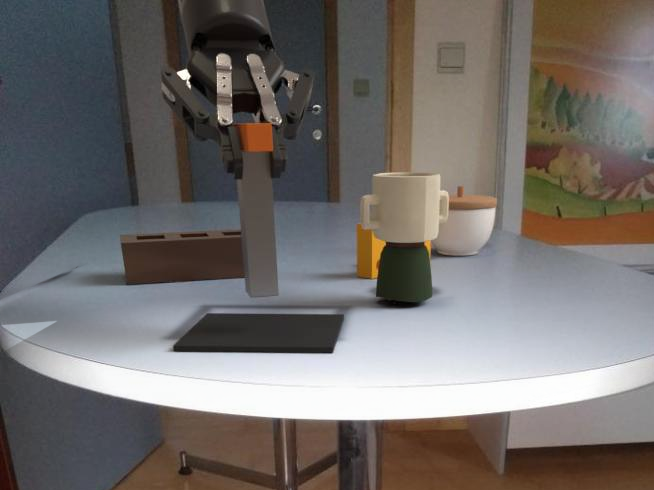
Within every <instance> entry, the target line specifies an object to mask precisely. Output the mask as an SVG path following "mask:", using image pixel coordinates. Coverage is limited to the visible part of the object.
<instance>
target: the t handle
mask: <svg viewBox="0 0 654 490" xmlns="http://www.w3.org/2000/svg"><path fill="white" fill-rule="evenodd" d="M232 126H233V127H236V129H237V134H238V139H239V143H240V148H241V153H242V157H243V178H242V180H236V185H237V198H238V210H239V221H240V222H239V223H240V224H239V225H240V229H241V237H242V250H243V263H244V275H245V277H244V287H245V288H244V289H245V293H246V294H247V295H248V296H249V298H251V299H252V298H265V297H277V296H279V295H280V292H279V291H280V290H279V275H278V273H279V272H278V258H277V242H276V227H275V207H274V189H273V179H272V177H271V160H270V151H273V141H272V124H271V123H255V122H254V123H253V122H249V123H248V122H245V123H244V122H243V123H241V122H240V123H239V122H237V123H235V122H234V123H232Z"/></svg>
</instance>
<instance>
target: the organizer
mask: <svg viewBox="0 0 654 490" xmlns="http://www.w3.org/2000/svg"><path fill="white" fill-rule="evenodd" d="M119 240H120V248H121V254H122V260H123V269H124V274H125V275H124V276H125V280H126V285H127V286H131V284H134V285H146V284H145V283H150V284H158V283H157V282H166V283H174V282H173V281H181V282H193V281H192V280H197V281H206V280H205V279H212V280H224V279H223V278H228V279H238V278H239V279H243V278H242V277H244V278H245V275H244V263H243V250H242V237H241V228H239V229H238V228H237V229H219V230H198V231H197V230H195V231H175V232H154V233H153V232H151V233H131V234H120V235H119ZM171 281H172V282H171Z"/></svg>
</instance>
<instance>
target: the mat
mask: <svg viewBox="0 0 654 490" xmlns="http://www.w3.org/2000/svg"><path fill="white" fill-rule="evenodd" d="M344 320H345V314H343V313H337V314H336V313H234V312H233V313H230V312H228V313H227V312H226V313H225V312H223V313H220V312H215V313H214V312H207V313H205V315H203V317H201V318H200V320H198V321H197V322H196V323H195V324H194V325H193V326H192V327H191V328H190V329H189V330H188V331H187V332H186V333H184V335H183V336H181V337H180V339H179V340H177V341H176V342H175V343H174V344H173V345H172V349H173V352H218V353H219V352H221V353H222V352H223V353H225V352H226V353H227V352H230V353H234V352H235V353H311V354H312V353H316V354H317V353H319V354H320V353H323V354H326V353H327V354H329V353H330V354H333V353H334V351H335V349H336V348H335V347H336V345H337V341H338V338H339V336H340V332H341V329H342V327H343V323H344Z"/></svg>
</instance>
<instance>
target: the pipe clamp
mask: <svg viewBox="0 0 654 490" xmlns="http://www.w3.org/2000/svg"><path fill="white" fill-rule="evenodd" d="M385 245H386V242H385V241H382V240H379V239H377V238H375V236H374V234H373V231H372V229H369V230H365V229H362V226H361V223H360V222H358V223H356V277H359V278H363V279H364V278H365V279H370V280H375V279H377V276H378V269H379V262H380V254H381V252H382V250H383V247H384V246H385ZM424 245H425V246H427V249H428V251H429V256H430V257H431V252H432V250H431V249H432V243H431V240H430V241H426V242H424Z"/></svg>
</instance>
